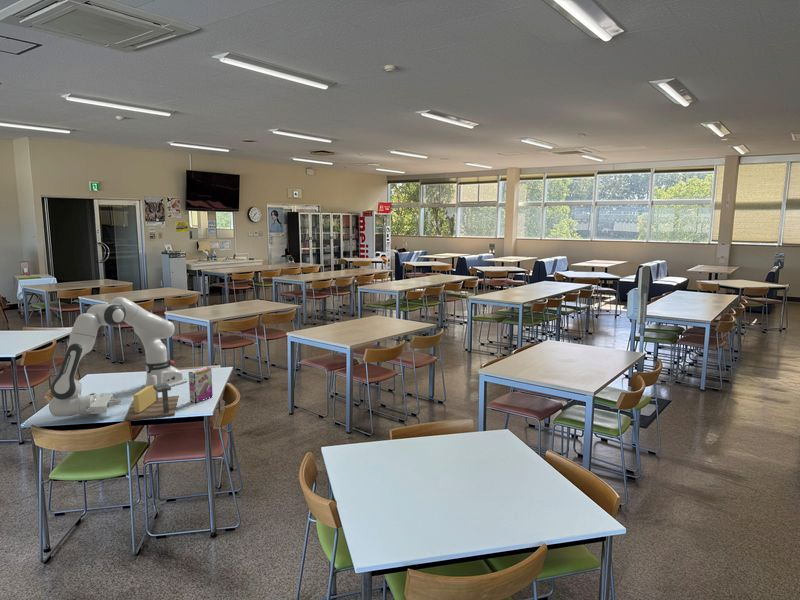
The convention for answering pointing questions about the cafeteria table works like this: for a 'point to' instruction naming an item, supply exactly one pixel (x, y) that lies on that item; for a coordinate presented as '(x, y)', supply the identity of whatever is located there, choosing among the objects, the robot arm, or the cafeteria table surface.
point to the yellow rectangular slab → (146, 396)
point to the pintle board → (156, 406)
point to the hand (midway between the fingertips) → (120, 401)
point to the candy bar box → (200, 384)
